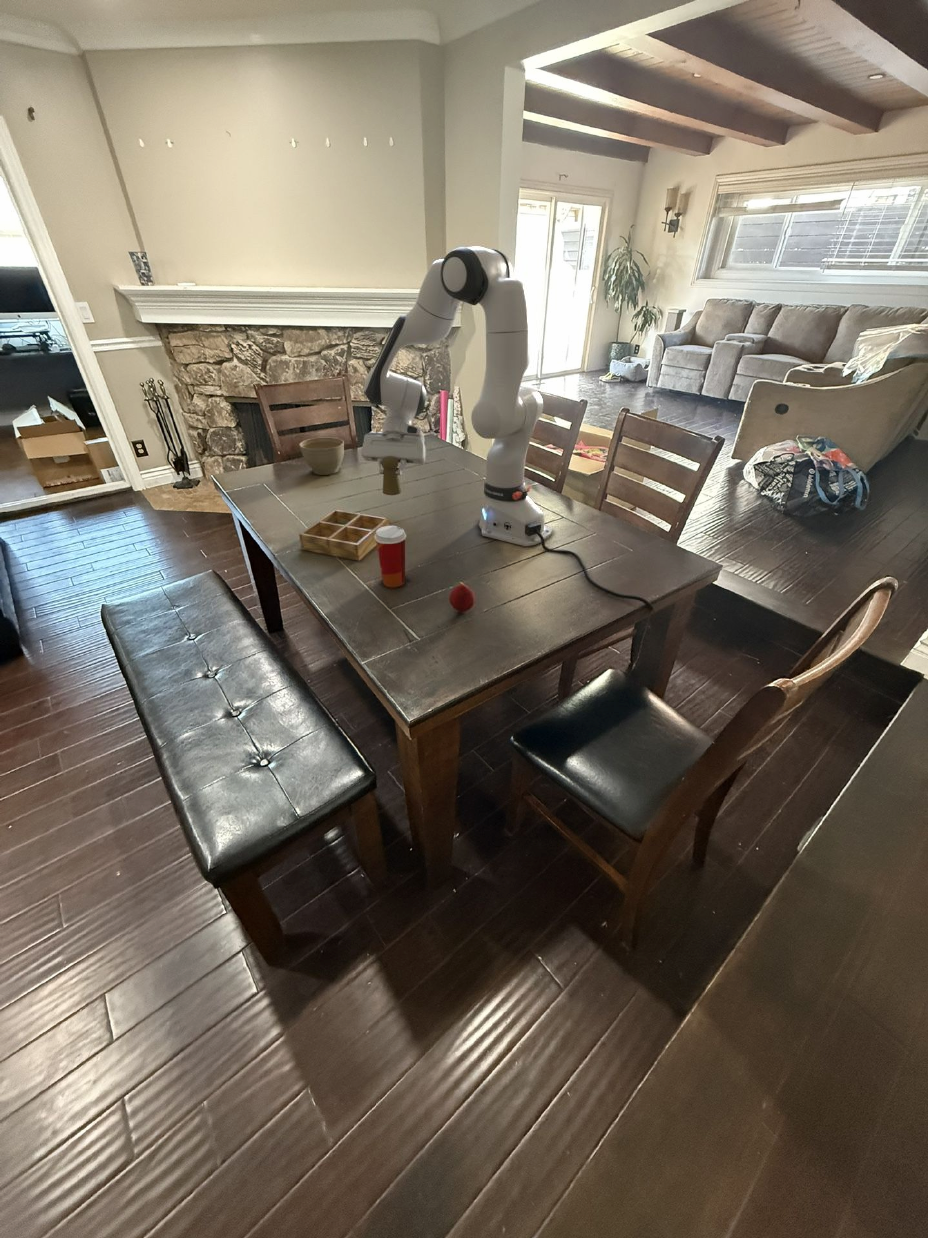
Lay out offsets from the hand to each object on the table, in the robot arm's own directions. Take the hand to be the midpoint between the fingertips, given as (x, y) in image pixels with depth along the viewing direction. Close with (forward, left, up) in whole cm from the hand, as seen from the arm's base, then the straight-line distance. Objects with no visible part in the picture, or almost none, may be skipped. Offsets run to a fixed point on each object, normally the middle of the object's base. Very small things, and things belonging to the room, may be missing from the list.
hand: (390, 473), depth 159 cm
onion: (-54, +29, -13) cm, 63 cm away
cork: (0, -1, -6) cm, 6 cm away
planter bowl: (+48, -10, -13) cm, 50 cm away
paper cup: (-32, +30, -13) cm, 46 cm away
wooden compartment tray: (-5, +23, -13) cm, 27 cm away
